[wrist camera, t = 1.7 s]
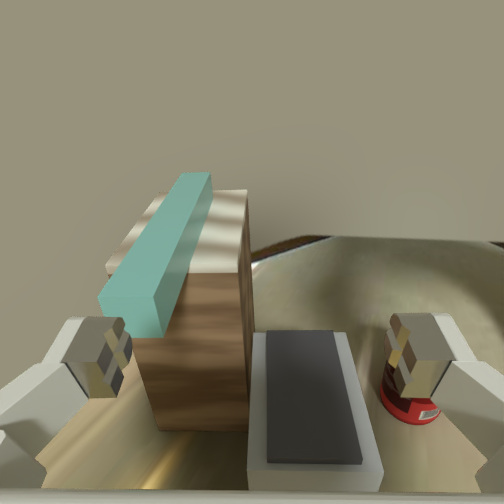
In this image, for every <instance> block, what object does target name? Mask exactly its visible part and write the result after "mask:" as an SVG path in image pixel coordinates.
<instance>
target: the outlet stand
mask: <svg viewBox="0 0 504 504" xmlns="http://www.w3.org/2000/svg"><path fill="white" fill-rule="evenodd" d="M212 192H213V201H212V204H211V207H210V209H209V212H208V215H207V218H206V221H205V223H204V226H203V229H202V232H201V234H200V237H199V240H198V243H197V246H196V248H195V251H194V254H193V257H192V260H191V262H190V265H189V268H188V271H187V274H186V276H185V279H184V282H183V285H182V288H181V290H180V293H179V296H178V299H177V301H176V304H175V307H174V310H173V313H172V315H171V318H170V321H169V324H168V327H167V329H166V332H165V335H164V338H131V339H132V345H133V346H132V349H133V352H134V355H135V359H136V362H137V365H138V368H139V371H140V374H141V377H142V380H143V383H144V386H145V389H146V392H147V395H148V398H149V401H150V404H151V408H152V411H153V414H154V417H155V420H156V423H157V426H158V429H159V430H163V431H238V432H249V414H250V393H251V372H252V352H253V333H255V326H254V307H253V288H252V269H251V250H250V232H249V212H248V194H247V190H221V191H212ZM168 193H169V192H159V194H158V195H157V196H156V198H155V199H154V201H153V202H152V203H151V205H150V206H149V207H148V208H147V210H146V211H145V212H144V214H143V215H142V216H141V218H140V219H139V220H138V222H137V223H136V224H135V226H134V227H133V228H132V230H131V231H130V232H129V234H128V235H127V237H126V238H125V239H124V241H123V242H122V243H121V245H120V246H119V247H118V249H117V250H116V251H115V253H114V254H113V255H112V257H111V258H110V259H109V261H108V262H107V263H106V265H105V267H106V270H107V272H108V276H109V279H110V278H111V276H112V275H113V273H114V272H115V270H116V269H117V267H118V266H119V265H120V263H121V262H122V260H123V259H124V257H125V256H126V254H127V253H128V251H129V250H130V248H131V247H132V246H133V244H134V243H135V241H136V240H137V238H138V237H139V235H140V234H141V232H142V231H143V229H144V228H145V227H146V225H147V224H148V222H149V221H150V219H151V218H152V216H153V215H154V213H155V212H156V210H157V209H158V207H159V206H160V205H161V203H162V202H163V200H164V199H165V197H166V196H167V194H168Z"/></svg>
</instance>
